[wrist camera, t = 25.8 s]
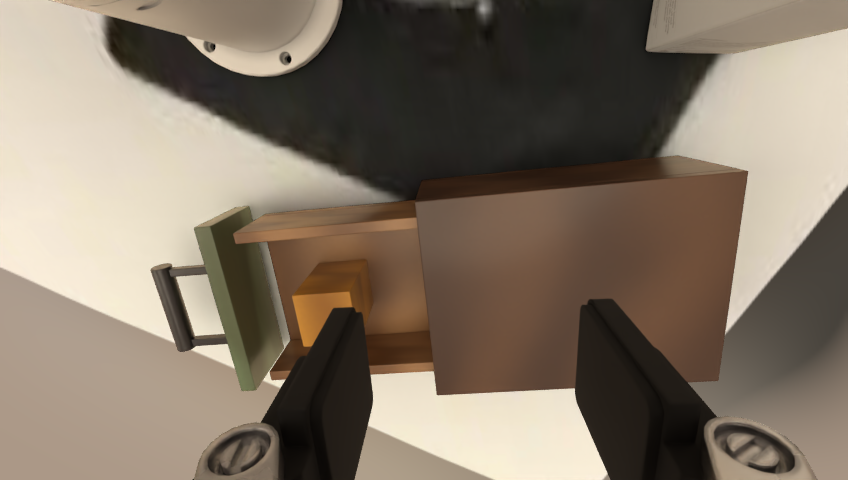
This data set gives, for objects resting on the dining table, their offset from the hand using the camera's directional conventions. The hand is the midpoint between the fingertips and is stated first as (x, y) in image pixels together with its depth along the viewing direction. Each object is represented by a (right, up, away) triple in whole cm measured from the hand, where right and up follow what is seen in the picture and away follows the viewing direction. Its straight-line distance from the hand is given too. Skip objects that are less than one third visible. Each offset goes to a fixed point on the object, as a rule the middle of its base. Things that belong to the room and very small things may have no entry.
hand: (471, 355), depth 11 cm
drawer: (-9, 0, +24) cm, 26 cm away
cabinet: (+9, +2, +23) cm, 25 cm away
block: (-8, 0, +23) cm, 24 cm away
